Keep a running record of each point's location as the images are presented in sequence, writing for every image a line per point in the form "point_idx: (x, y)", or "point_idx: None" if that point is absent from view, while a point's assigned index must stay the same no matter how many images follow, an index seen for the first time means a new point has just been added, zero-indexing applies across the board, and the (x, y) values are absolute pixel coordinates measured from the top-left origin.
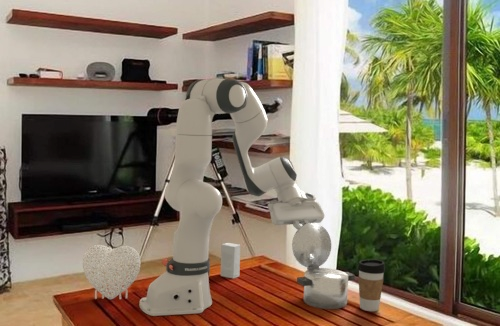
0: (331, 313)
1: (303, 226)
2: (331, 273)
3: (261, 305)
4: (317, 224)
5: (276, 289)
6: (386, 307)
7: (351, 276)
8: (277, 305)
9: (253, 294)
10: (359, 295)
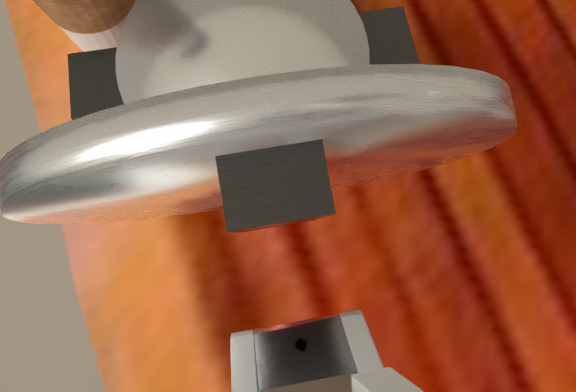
0: None
1: (433, 68)
2: (206, 60)
3: (537, 122)
4: (127, 108)
5: (428, 312)
6: (37, 21)
7: (92, 54)
8: None
9: (556, 258)
10: (131, 6)
